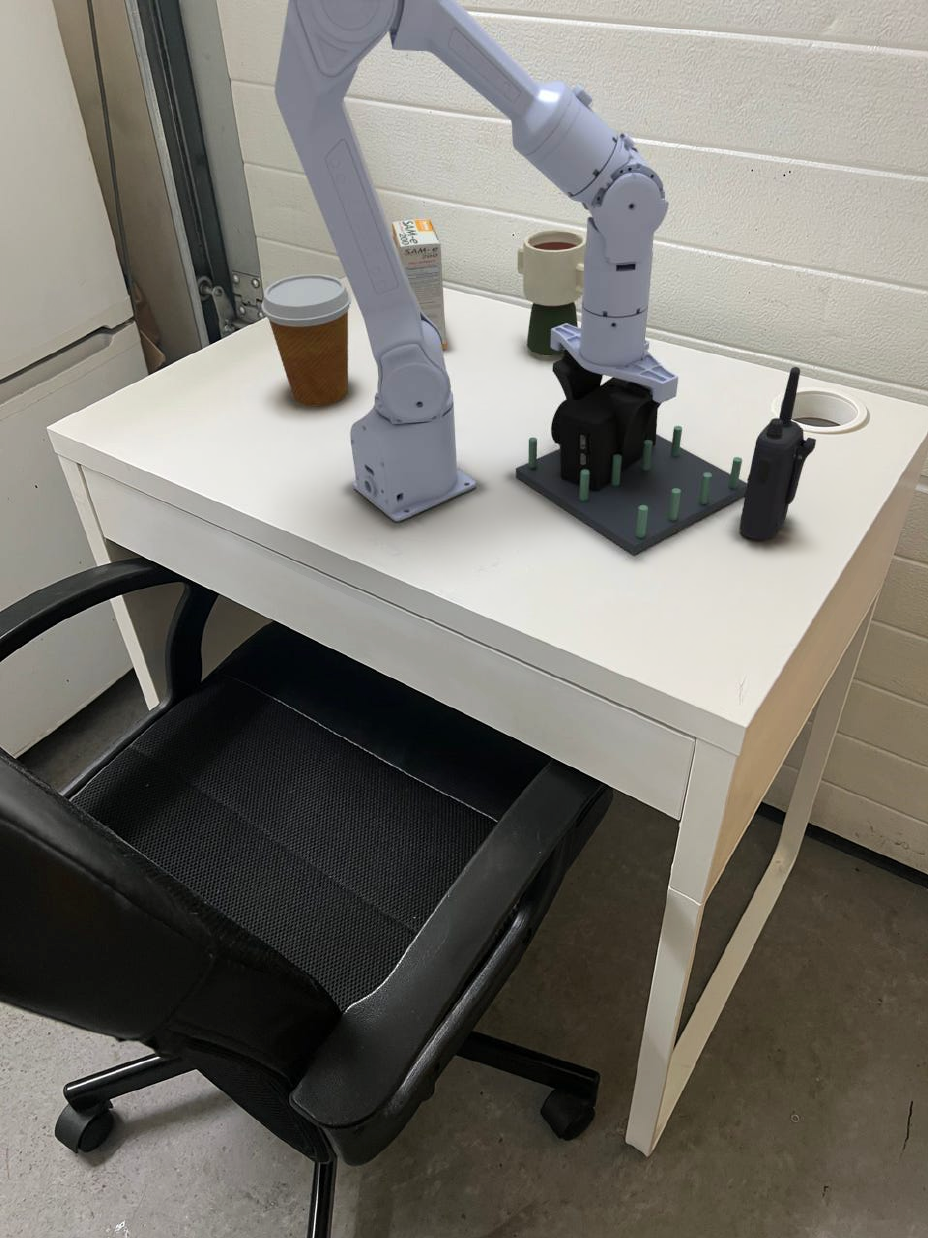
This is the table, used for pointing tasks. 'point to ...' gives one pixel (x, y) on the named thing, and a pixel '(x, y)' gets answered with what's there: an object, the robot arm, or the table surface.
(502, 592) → the table surface
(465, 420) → the table surface
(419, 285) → the supplement box
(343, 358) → the disposable coffee cup
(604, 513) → the rack
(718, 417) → the table surface
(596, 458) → the digital camera
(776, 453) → the two-way radio
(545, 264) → the character mug
